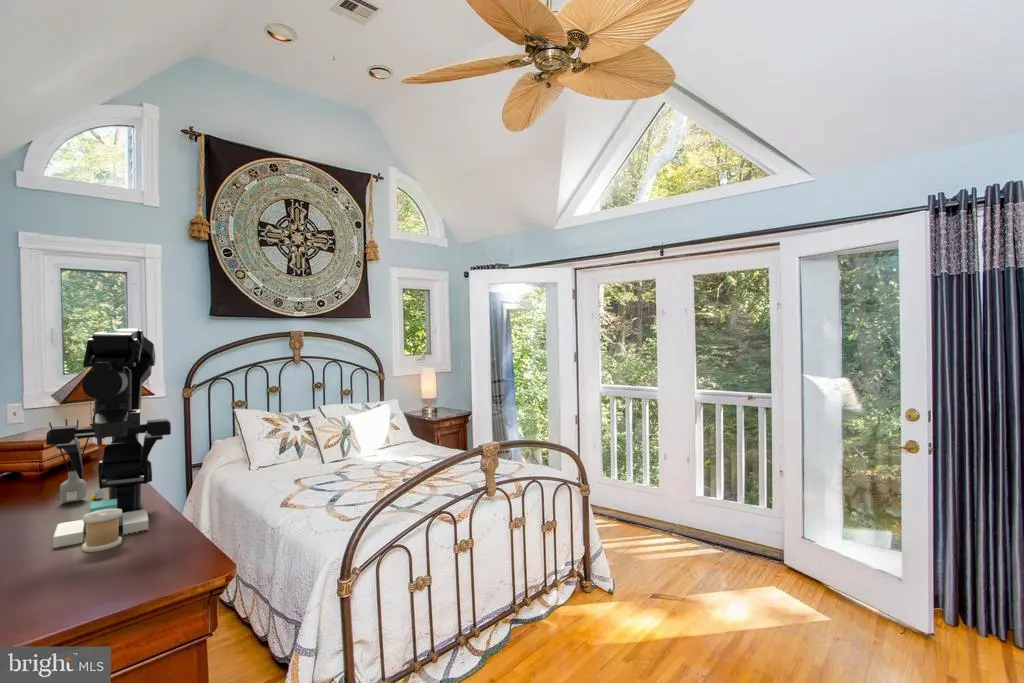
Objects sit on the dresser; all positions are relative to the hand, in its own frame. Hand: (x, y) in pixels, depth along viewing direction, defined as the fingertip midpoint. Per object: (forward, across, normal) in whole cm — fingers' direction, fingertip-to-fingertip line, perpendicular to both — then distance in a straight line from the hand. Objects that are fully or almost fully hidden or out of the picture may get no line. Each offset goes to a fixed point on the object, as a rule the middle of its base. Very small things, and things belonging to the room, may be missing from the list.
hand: (112, 474), depth 97 cm
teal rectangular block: (+12, -1, +1) cm, 12 cm away
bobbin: (+12, -1, -7) cm, 13 cm away
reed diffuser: (+12, -8, +33) cm, 36 cm away
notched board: (+12, -1, +2) cm, 12 cm away
